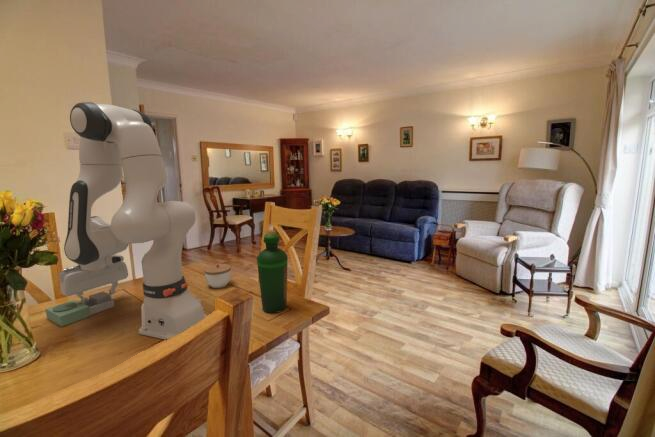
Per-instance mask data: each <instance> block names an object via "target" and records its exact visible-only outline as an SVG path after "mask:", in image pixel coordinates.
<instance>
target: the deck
mask: <svg viewBox="0 0 655 437" xmlns="http://www.w3.org/2000/svg"><path fill="white" fill-rule="evenodd" d="M87 298H88V303H85V304H82V303H81V300H80V301H77V300H75V299H71V300H69V301H65V302H64V303H60V304H56V305H53V306H50V307H48V308H45V313H46V318H47V320H49V321H51V322H53V323H54V324H56V325H58V326H59V327H65V326H68V325H70V324H73V323H76V322H79V321H81V320H85V319H87V318H90V317H91V316H92V315H95V314H98V313H100V312H104V311H105V310H108V309H111V308H115V306H116V305H115V300H114V299H112V298H111V300H109V301H106V302H103V303H100V304H97V305H94V306H92V307H90V301H89V297H87Z"/></svg>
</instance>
